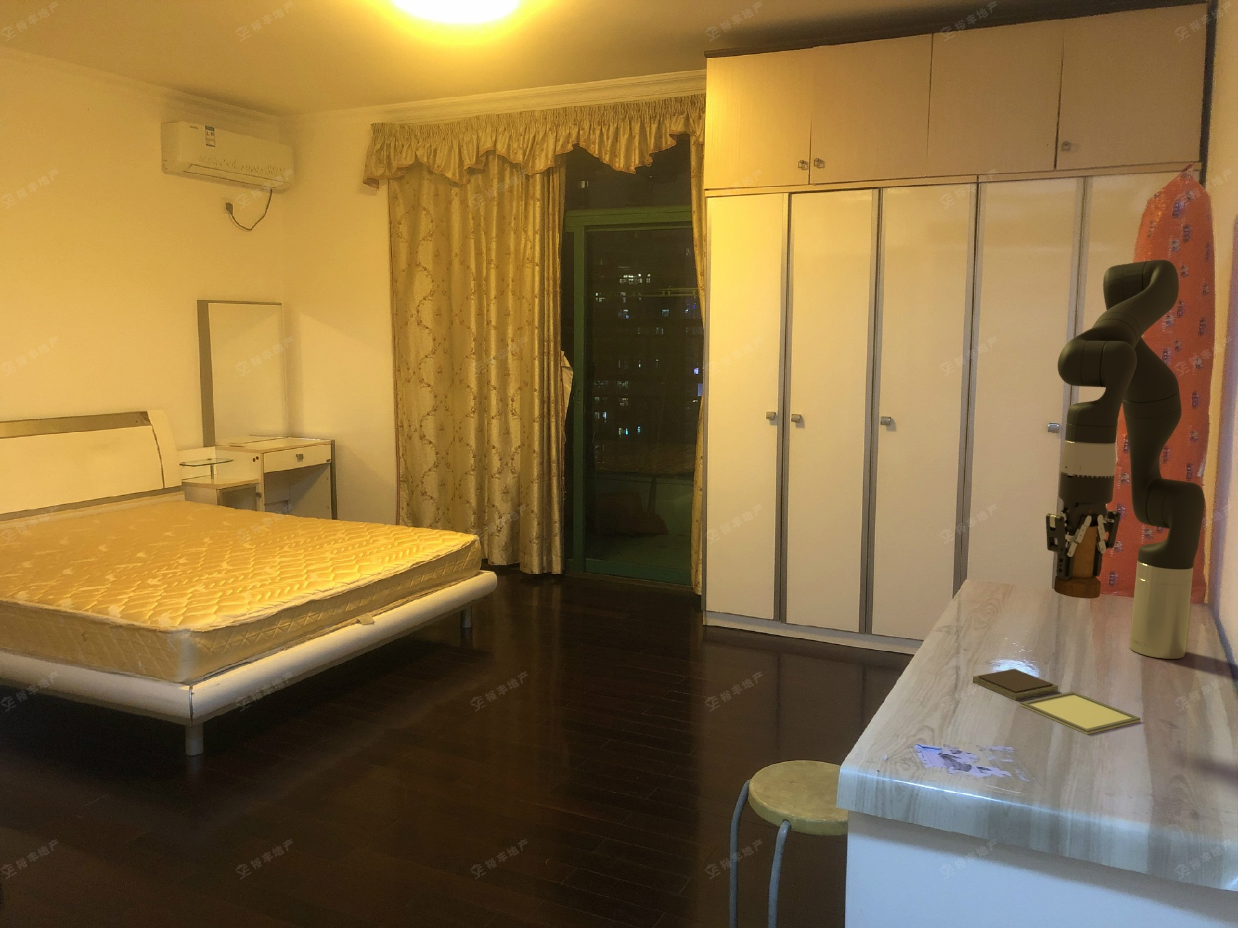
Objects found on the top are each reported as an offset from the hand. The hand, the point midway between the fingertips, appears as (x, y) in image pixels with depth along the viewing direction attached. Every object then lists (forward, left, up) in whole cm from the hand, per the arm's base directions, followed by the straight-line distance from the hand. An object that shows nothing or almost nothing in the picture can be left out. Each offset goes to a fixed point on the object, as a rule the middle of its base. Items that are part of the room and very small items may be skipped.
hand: (1078, 576), depth 147 cm
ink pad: (0, -11, -22) cm, 24 cm away
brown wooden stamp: (0, 0, -3) cm, 3 cm away
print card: (0, +2, -22) cm, 22 cm away
